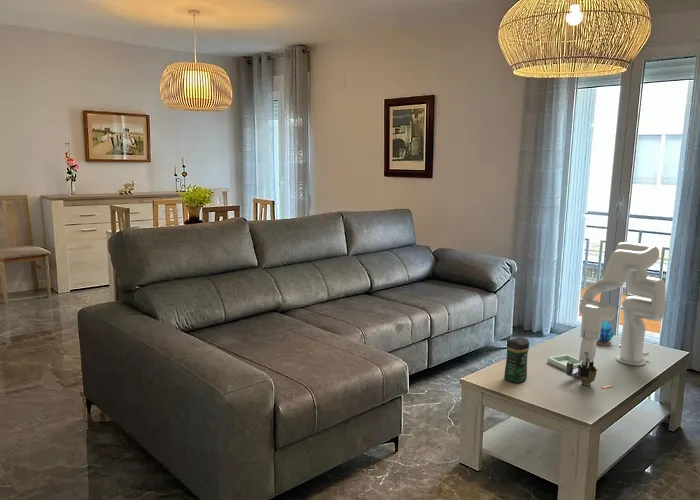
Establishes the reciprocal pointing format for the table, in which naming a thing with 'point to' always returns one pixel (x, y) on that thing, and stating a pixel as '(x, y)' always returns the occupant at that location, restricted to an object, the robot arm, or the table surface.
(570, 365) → the crank
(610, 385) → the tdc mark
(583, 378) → the ornate brass lampshade
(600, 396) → the table surface
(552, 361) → the tray
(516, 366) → the coffee jar
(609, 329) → the gemstone
